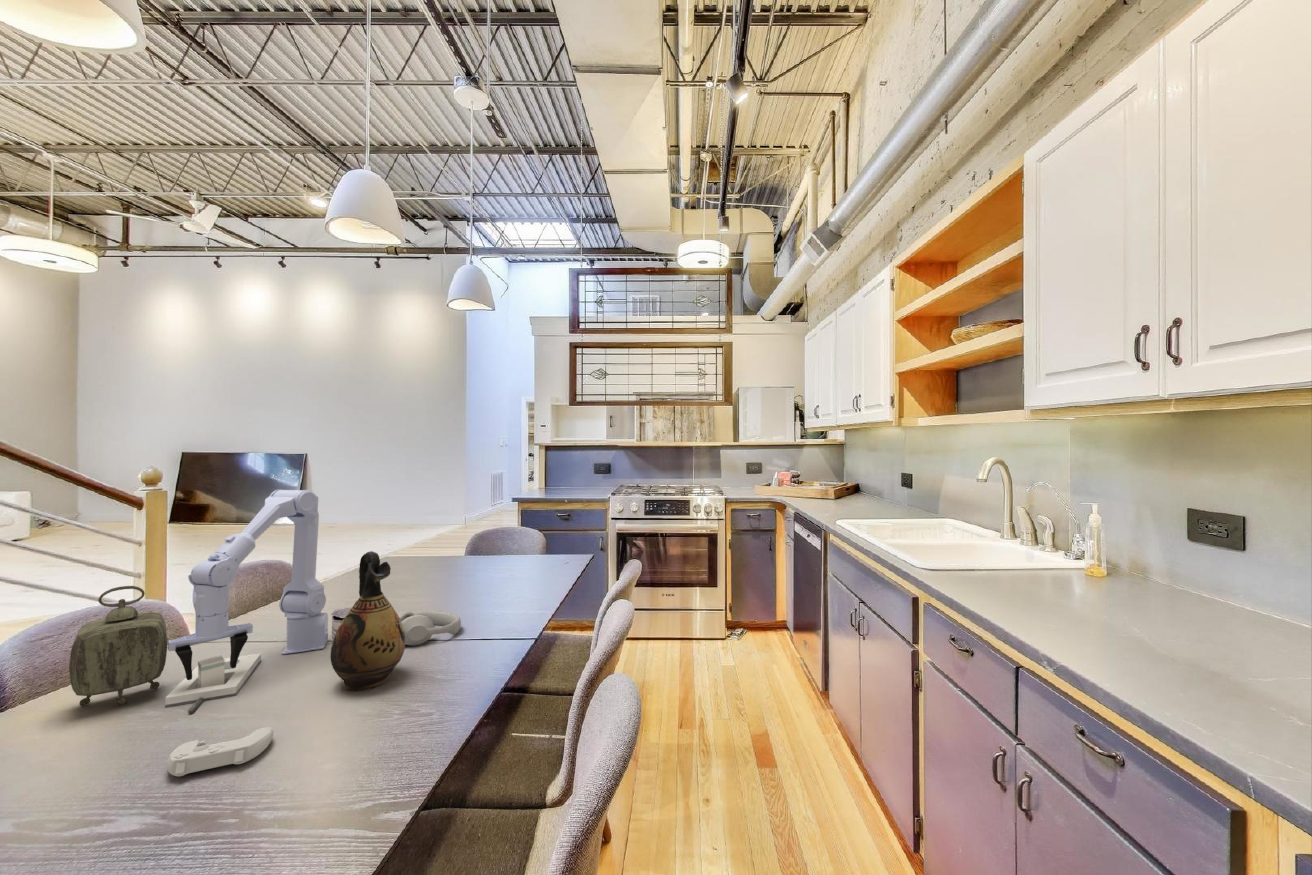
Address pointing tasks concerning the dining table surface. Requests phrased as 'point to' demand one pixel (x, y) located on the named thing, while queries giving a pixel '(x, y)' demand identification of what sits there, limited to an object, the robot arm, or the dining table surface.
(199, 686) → the block
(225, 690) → the power strip
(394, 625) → the ceramic jug
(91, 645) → the tabletop clock
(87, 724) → the dining table surface
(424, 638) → the headphones
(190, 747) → the game controller
